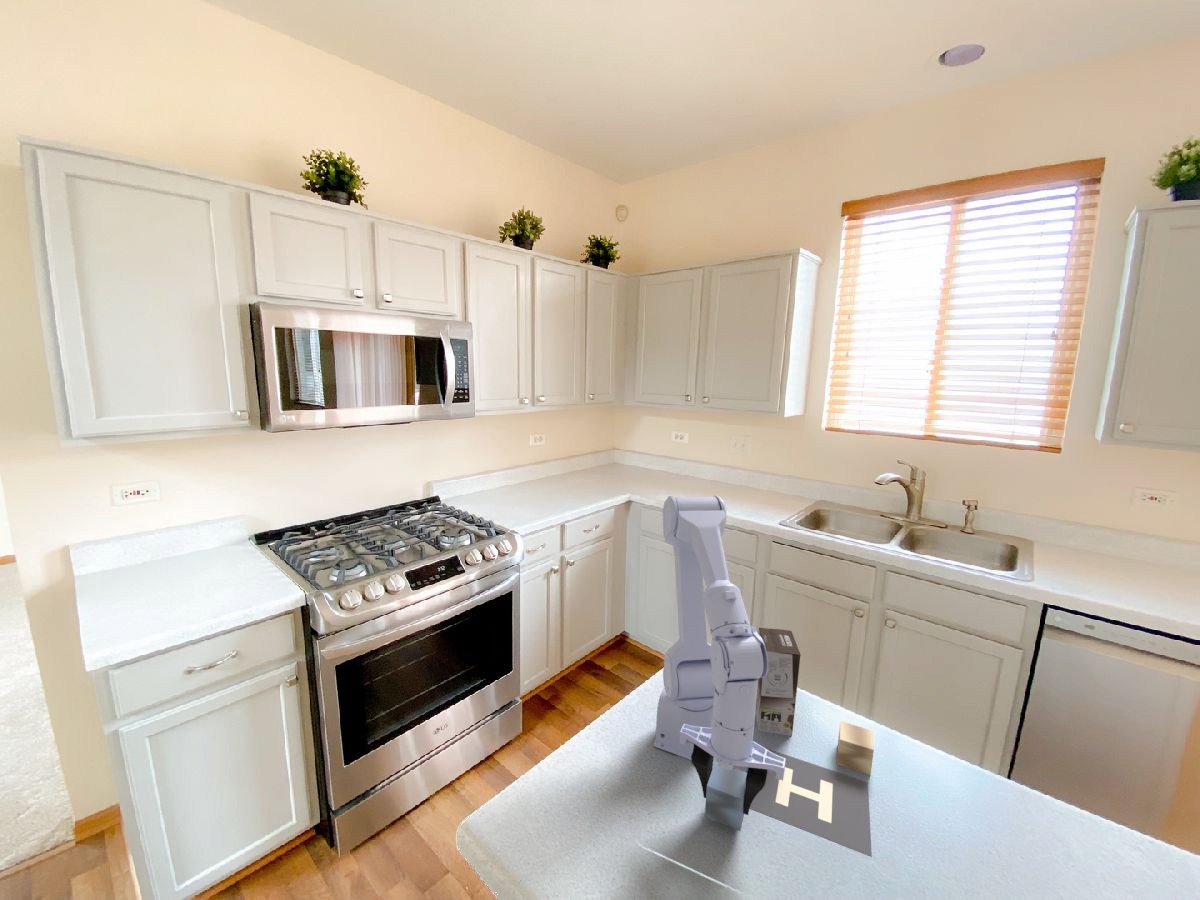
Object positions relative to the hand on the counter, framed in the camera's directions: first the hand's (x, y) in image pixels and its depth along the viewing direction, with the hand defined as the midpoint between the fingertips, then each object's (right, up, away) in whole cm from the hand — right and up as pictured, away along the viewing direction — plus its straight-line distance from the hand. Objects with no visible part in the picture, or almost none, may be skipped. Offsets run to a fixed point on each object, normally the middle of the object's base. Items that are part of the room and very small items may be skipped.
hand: (726, 801), depth 72 cm
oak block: (+25, -2, +13) cm, 28 cm away
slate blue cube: (0, -1, 0) cm, 2 cm away
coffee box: (+15, -1, +23) cm, 27 cm away
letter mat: (+14, -3, +6) cm, 15 cm away
